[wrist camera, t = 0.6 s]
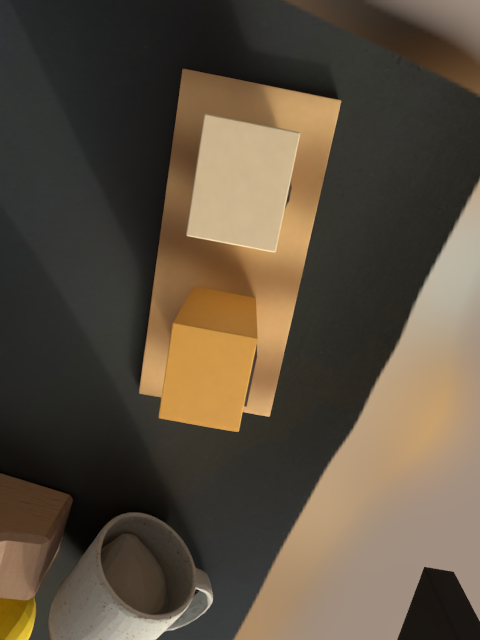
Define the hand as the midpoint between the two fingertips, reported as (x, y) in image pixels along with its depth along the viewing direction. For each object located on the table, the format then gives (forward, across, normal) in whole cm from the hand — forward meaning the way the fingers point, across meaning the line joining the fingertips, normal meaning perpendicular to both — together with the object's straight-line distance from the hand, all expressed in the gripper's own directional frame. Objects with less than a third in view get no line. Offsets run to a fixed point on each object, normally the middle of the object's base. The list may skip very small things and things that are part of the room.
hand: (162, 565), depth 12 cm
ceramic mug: (+20, -2, -19) cm, 27 cm away
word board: (+19, 0, +5) cm, 20 cm away
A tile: (+19, 0, +9) cm, 21 cm away
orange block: (+19, 0, 0) cm, 19 cm away
